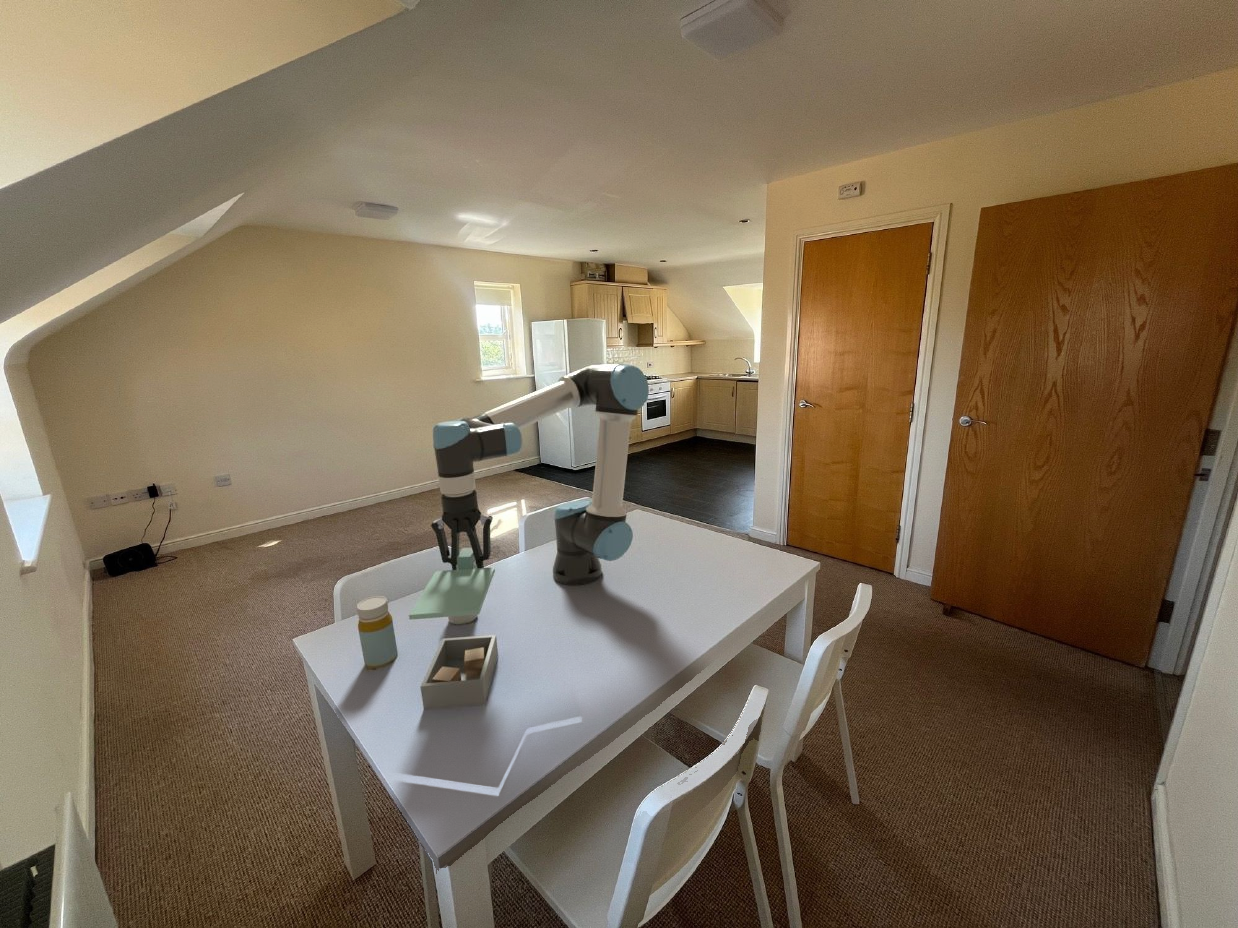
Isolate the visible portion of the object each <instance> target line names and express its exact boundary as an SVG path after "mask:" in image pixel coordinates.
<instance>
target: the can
mask: <svg viewBox="0 0 1238 928" xmlns="http://www.w3.org/2000/svg"><path fill="white" fill-rule="evenodd" d="M477 616H478V615H465V616H452V617H447V619H448V622H450V623H451V624H454V625H455V626H462V625H469V624H470V623H471V622H473V621H474V620H476V618H477Z"/></svg>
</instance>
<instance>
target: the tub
mask: <svg viewBox="0 0 1238 928" xmlns="http://www.w3.org/2000/svg"><path fill="white" fill-rule="evenodd" d="M483 647H484V653H485V662H484V665H483V669H482V672H481V675H478V676H472V677H467V678H466V671H465V663H464V659H465V650H471V649H477V648H483ZM498 649H499V648H498V641H497V634H489V635H477V636H476V635H474V636H473V635H472V636H463V637H462V636H461V637H460V636H459V637H447V638H441V641H440V643H439V645H438V648H437V649H436V652H435V654H434V656H433V659H432V660H431V663H430V664H429V667H428V669H427V671H426V673H425V676H424V678H423V680H422V681H421V685H420V686H419V687H420V693H421V701H422V708H423V710H431V709H443V708H454V707H456V708H457V707H469V706H480V705H486V703H487V701H488V699H487V698H488V694H489V691H490V688H491V683H492V679H493V676H494V672H495V668H496V665H497V661H498V657H499V650H498ZM442 667H451V668H460V674H461V681H451V682H438V683H432V679H433V677H434V676H435V675H436V674H437V672H438V671H439V670H440V669H441V668H442Z"/></svg>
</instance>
